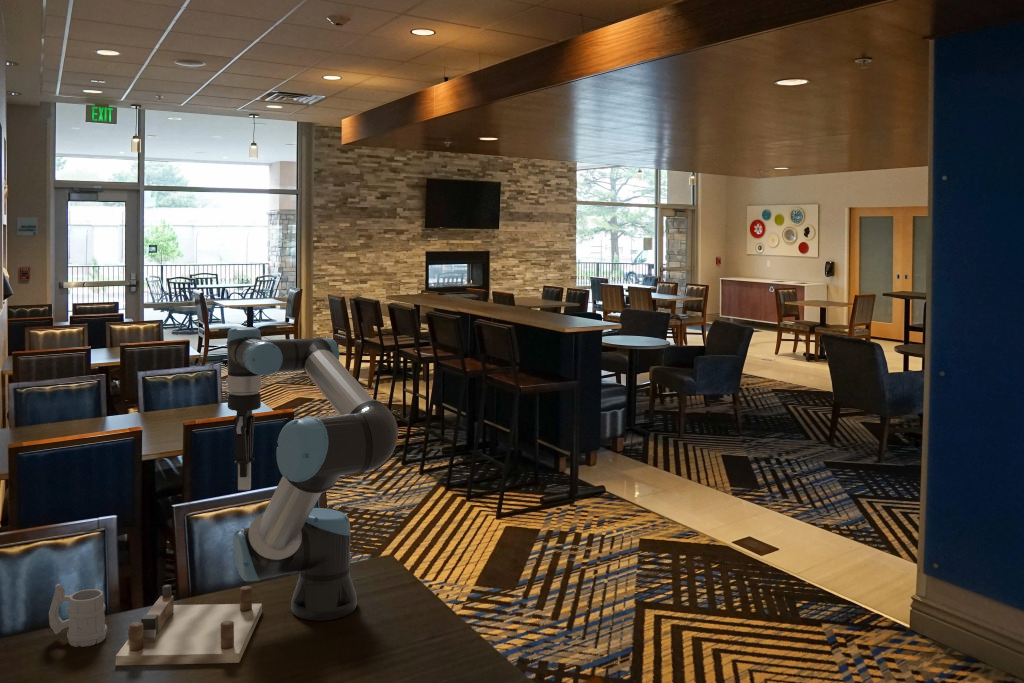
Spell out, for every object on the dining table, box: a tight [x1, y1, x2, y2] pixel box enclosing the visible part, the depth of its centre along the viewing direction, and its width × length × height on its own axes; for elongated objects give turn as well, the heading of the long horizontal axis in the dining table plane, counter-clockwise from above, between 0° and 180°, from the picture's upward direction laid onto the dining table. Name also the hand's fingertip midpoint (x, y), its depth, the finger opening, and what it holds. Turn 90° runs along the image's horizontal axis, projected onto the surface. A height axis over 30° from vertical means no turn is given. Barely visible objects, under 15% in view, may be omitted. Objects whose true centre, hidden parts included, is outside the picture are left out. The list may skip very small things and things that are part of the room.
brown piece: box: [140, 584, 175, 635], centre depth 178 cm, size 14×3×6 cm, turn 6°
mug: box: [48, 583, 108, 648], centre depth 174 cm, size 8×12×12 cm, turn 91°
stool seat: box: [115, 585, 263, 666], centre depth 177 cm, size 24×24×7 cm
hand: (244, 489), depth 197 cm, fingers closed
